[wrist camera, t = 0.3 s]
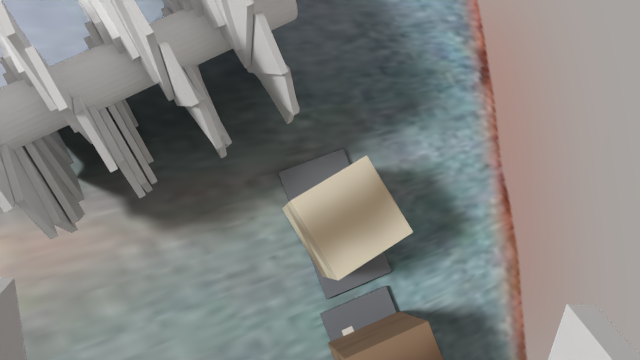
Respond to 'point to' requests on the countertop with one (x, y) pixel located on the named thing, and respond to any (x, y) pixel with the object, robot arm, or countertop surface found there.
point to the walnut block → (389, 341)
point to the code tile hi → (305, 179)
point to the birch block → (347, 219)
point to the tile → (358, 313)
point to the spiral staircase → (122, 92)
